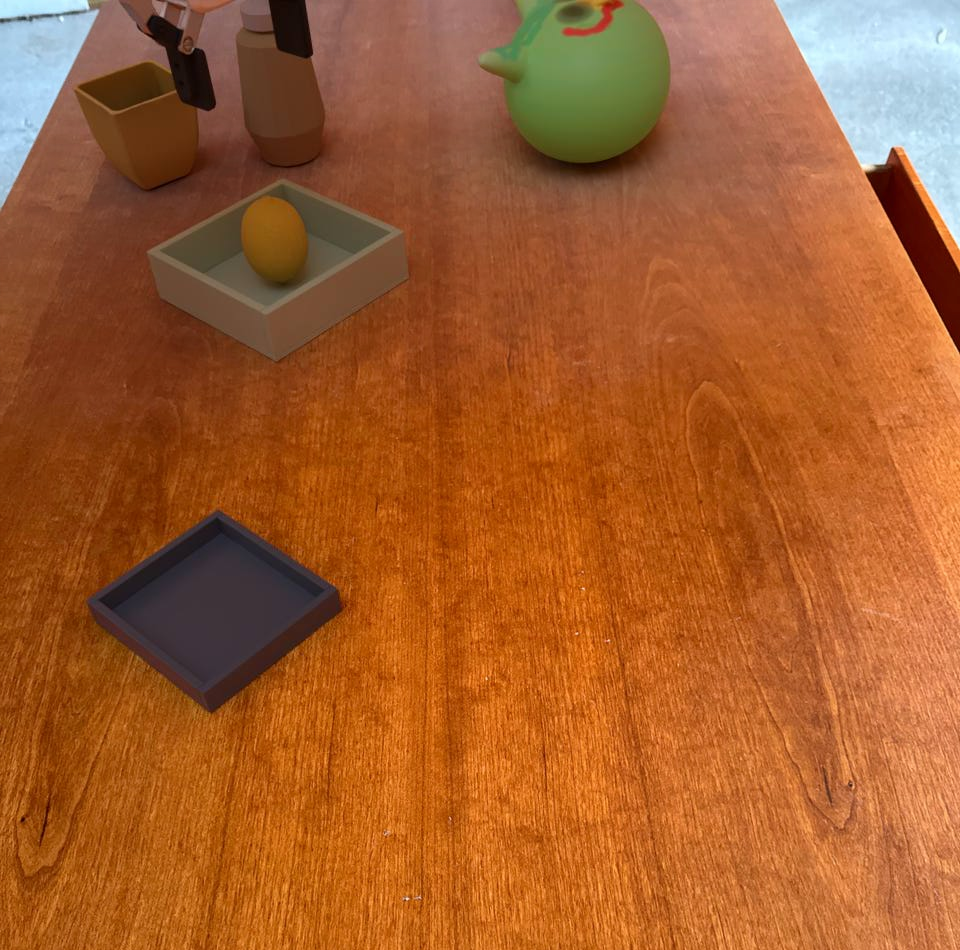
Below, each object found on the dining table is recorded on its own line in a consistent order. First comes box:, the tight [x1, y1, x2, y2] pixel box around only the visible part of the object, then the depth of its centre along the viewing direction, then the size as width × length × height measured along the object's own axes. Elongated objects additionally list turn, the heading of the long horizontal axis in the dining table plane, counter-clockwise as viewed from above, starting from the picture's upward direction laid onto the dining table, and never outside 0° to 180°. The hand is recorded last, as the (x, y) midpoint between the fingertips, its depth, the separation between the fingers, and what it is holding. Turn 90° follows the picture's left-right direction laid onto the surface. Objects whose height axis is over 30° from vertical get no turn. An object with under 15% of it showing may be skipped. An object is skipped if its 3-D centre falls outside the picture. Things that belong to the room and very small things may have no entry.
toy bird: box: [477, 0, 671, 164], centre depth 112 cm, size 18×17×15 cm
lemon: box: [241, 195, 308, 284], centre depth 100 cm, size 6×6×8 cm
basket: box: [146, 177, 410, 363], centre depth 102 cm, size 16×16×4 cm
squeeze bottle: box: [235, 0, 326, 167], centre depth 113 cm, size 8×8×18 cm
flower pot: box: [71, 58, 200, 191], centre depth 115 cm, size 9×9×9 cm
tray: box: [85, 508, 343, 714], centre depth 77 cm, size 12×11×2 cm
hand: (248, 78), depth 84 cm, fingers open, 9 cm apart
